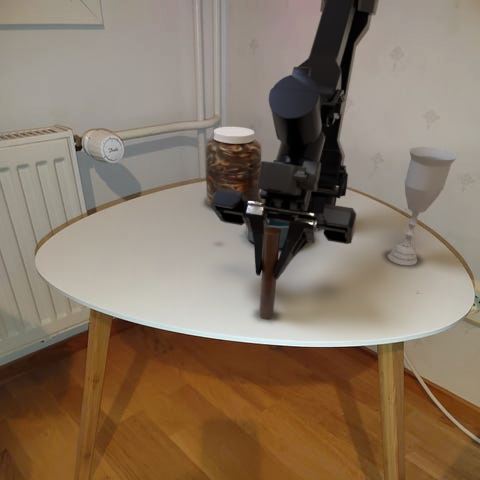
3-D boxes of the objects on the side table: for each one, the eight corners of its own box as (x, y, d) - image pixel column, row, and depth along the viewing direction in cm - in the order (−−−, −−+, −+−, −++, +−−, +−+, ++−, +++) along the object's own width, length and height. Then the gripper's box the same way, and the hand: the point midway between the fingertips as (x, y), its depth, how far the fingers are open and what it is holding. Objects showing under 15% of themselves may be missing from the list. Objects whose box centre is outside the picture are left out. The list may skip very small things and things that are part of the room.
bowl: (281, 221, 86) (283, 199, 84) (316, 242, 79) (320, 219, 76) (235, 232, 81) (235, 210, 79) (267, 256, 74) (269, 232, 71)
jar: (263, 196, 97) (267, 127, 88) (253, 215, 88) (256, 140, 79) (214, 191, 99) (214, 122, 90) (199, 209, 90) (197, 135, 81)
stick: (267, 309, 61) (274, 225, 53) (275, 316, 59) (284, 231, 52) (256, 313, 60) (261, 228, 52) (264, 320, 59) (270, 235, 51)
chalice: (376, 249, 77) (402, 146, 66) (412, 248, 78) (442, 147, 67) (391, 268, 71) (422, 160, 61) (429, 268, 72) (466, 160, 61)
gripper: (214, 122, 51) (179, 242, 49) (371, 139, 46) (338, 273, 44) (236, 169, 62) (207, 269, 60) (365, 187, 57) (338, 297, 55)
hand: (266, 276), depth 54 cm, fingers closed
